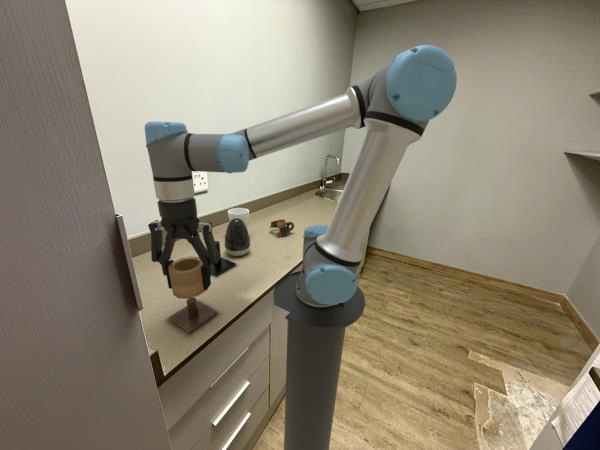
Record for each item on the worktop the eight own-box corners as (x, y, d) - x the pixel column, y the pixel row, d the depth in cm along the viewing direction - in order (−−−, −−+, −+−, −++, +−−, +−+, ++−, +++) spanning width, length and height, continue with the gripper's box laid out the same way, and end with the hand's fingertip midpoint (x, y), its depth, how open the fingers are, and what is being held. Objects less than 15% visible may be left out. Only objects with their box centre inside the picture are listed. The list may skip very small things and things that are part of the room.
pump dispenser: (226, 261, 93) (223, 224, 87) (223, 249, 102) (221, 215, 96) (253, 257, 96) (252, 221, 91) (248, 246, 105) (246, 213, 100)
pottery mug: (271, 238, 115) (267, 222, 116) (273, 239, 124) (270, 224, 125) (296, 232, 115) (292, 216, 116) (296, 234, 124) (292, 218, 125)
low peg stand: (217, 314, 66) (215, 297, 64) (189, 334, 59) (186, 316, 57) (197, 302, 70) (195, 286, 68) (169, 320, 63) (166, 303, 61)
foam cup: (240, 243, 108) (238, 215, 103) (225, 238, 112) (223, 211, 108) (254, 236, 116) (253, 210, 111) (239, 231, 120) (238, 206, 115)
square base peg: (236, 265, 90) (234, 241, 86) (216, 276, 83) (214, 250, 79) (219, 258, 94) (217, 235, 91) (199, 268, 87) (196, 243, 83)
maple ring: (214, 286, 62) (211, 262, 60) (186, 303, 56) (181, 277, 54) (194, 276, 66) (191, 253, 64) (166, 291, 60) (161, 266, 57)
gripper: (229, 195, 56) (235, 279, 64) (140, 192, 57) (158, 276, 65) (217, 204, 49) (226, 297, 57) (117, 201, 50) (139, 293, 58)
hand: (190, 286), depth 61 cm, fingers closed on maple ring, 8 cm apart
